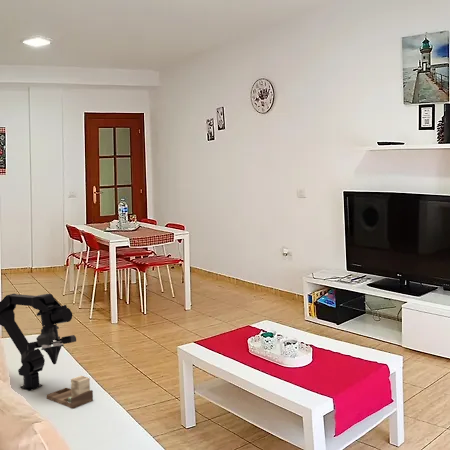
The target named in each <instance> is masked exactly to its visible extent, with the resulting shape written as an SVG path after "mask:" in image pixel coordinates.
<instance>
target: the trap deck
mask: <svg viewBox="0 0 450 450" xmlns="http://www.w3.org/2000/svg"><path fill="white" fill-rule="evenodd" d="M93 393H94V391H93V390H92V389H90V391H87V392H85V393H82V394H80V395H77V396H74V397H72V394H71V388H70V387H63V388H62V389H59V390H56V391H53V392H51V393H48V394H46V399H48V400H49V401H53V402H55V403H58V404H60V405H63V406H65V407H68V408H70V409H77V408H78V407H80V406H83V405H86V404H88V403H90V402H93V401H94V394H93Z"/></svg>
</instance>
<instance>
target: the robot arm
mask: <svg viewBox="0 0 450 450" xmlns="http://www.w3.org/2000/svg"><path fill="white" fill-rule="evenodd" d="M17 306H27V307H32V309H35V310H36V311H38V312H37V313H36V316H37V317H40V321H41V326H42V328H41V329H40V334H39V335H38V336H37V337H36V341H31V342H29V341H28V339H27V338H26V335H24V333H23V331H22V330H21V328H20V327H19V325H18V323H17V322H16V319H15V317H16V316H15V315H16V313H15V311H14V310H15V309H16V308H17ZM72 319H73V312H72V310H71V309H70V308H69V307H67V304H64V305H61V303H59V302H58V300H57V299H56V297H54V296H53V294H52V293H44V294H38V295H31V294H29V295H28V294H17V293H10V294H6V295H5V296H4V297H3V298H2V299H1V301H0V326H1V327H3V328H4V330H5V331H6V333H7V335H8V337H10V339H11V341H12V342H13V344H14V345H15V347H16V349H17V350H18V352H19V353H20V357H21V358H20V363H21V366H20V368H19V369H17V371H18V375H19V376H21V377H23V385H20V388H21V389H24V390H26V391H34V390H35V389H39V388H42V387H43V384H40V375H39V372H42V371H43V368H44V366H45V362H46V361H45V355H44V354H43V353H42V352H41V351H45V352H46V354H47V355H48V357H49V359H50V361H51V363H52V364H53V365H56V364H57V362H58V357H59V356H60V355H59V354H60V351H61V349H62V347H64V345H65V344H67V345H68V344H71V343H75V342H77V337H76V336H75V334H72V335H66V336H62V337H61V336H59V332H58V330H59V326H58V324H64V323H69V322H71V321H72ZM52 345H53V346H52ZM40 348H41V350H40Z"/></svg>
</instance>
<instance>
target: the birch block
mask: <svg viewBox="0 0 450 450" xmlns="http://www.w3.org/2000/svg"><path fill="white" fill-rule="evenodd" d="M70 386H71V387H70V389H71V394H72V397H74V396H77V395H80V394H82V393H85V392H87V391H90V390H91V387H90V386H91V383H90V377H87V376H84V375H79V376H75V377H73V378H71V379H70Z"/></svg>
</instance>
